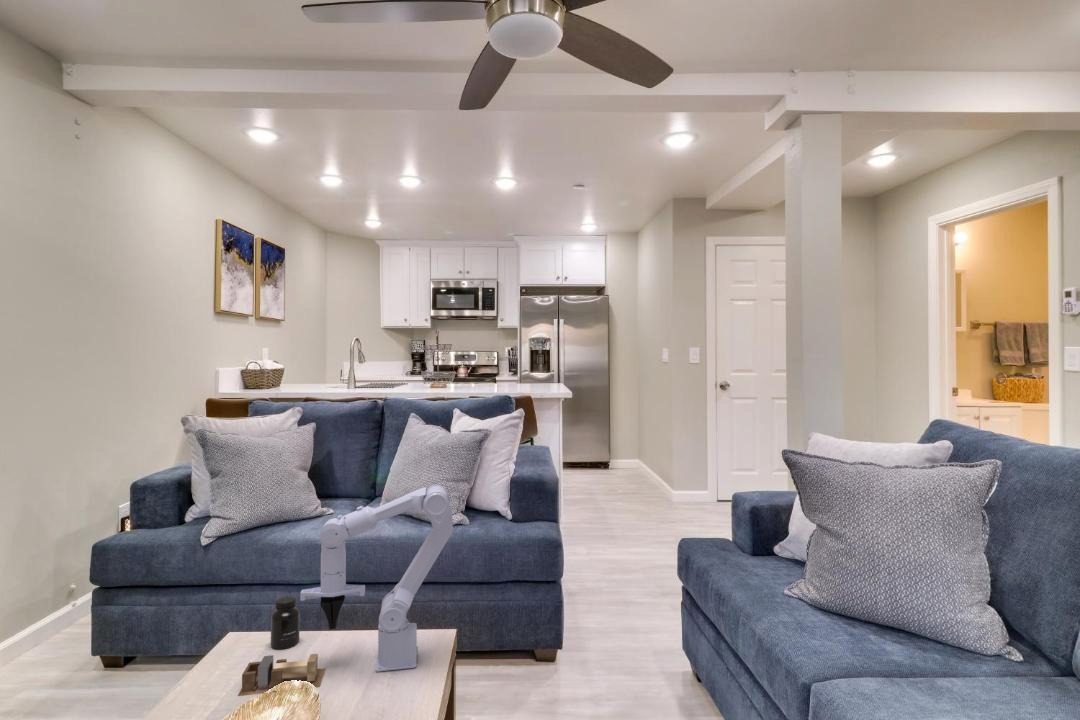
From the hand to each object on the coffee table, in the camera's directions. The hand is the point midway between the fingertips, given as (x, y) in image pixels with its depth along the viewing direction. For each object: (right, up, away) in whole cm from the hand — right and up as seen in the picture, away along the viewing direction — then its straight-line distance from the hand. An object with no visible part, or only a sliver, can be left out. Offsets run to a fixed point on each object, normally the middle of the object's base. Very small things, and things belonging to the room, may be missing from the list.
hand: (333, 627), depth 135 cm
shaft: (-6, -9, -6) cm, 13 cm away
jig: (-9, -10, -7) cm, 15 cm away
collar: (-12, -9, -8) cm, 17 cm away
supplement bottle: (-16, -10, +11) cm, 22 cm away
